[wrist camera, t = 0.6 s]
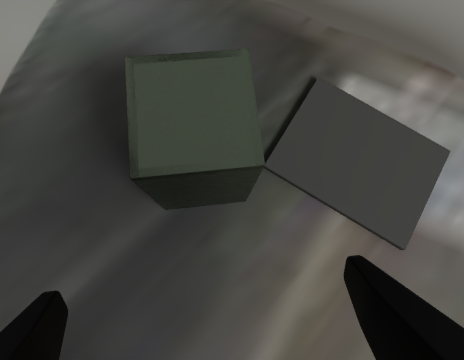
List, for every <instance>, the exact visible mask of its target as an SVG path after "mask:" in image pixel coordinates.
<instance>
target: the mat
mask: <svg viewBox="0 0 464 360" xmlns="http://www.w3.org/2000/svg"><path fill="white" fill-rule="evenodd" d="M449 153H450V150H448V149H446V148H444V147H442V146H441V145H439V144H437V143H435V142H433V141H432V140H430V139H428V138H426V137H425V136H423V135H421V134H419V133H417V132H416V131H414V130H412V129H410V128H409V127H407V126H405V125H403V124H401V123H400V122H398V121H396V120H394V119H393V118H391V117H389V116H387V115H385V114H384V113H382V112H380V111H378V110H377V109H375V108H373V107H371V106H369V105H368V104H366V103H364V102H362V101H361V100H359V99H357V98H355V97H353V96H352V95H350V94H348V93H346V92H345V91H343V90H341V89H339V88H337V87H336V86H334V85H332V84H330V83H329V82H327V81H325V80H323V79H321V78H320V77H318V79H317V80H316V82H315V83H314V85H313V87H312V88H311V90H310V92H309V93H308V95H307V97H306V98H305V100H304V101H303V103H302V105H301V106H300V108H299V110H298V111H297V113H296V114H295V116H294V118H293V119H292V121H291V123H290V124H289V126H288V127H287V129H286V131H285V132H284V134H283V136H282V137H281V139H280V141H279V142H278V144H277V145H276V147H275V149H274V150H273V152H272V154H271V155H270V157H269V158H268V160H267V162H266V163H265V166H264V168H265V169H267V170H268V171H270V172H272V173H273V174H275V175H277V176H278V177H280V178H282V179H283V180H285V181H287V182H288V183H290V184H292V185H293V186H295V187H297V188H298V189H300V190H302V191H303V192H305V193H307V194H308V195H310V196H312V197H313V198H315V199H317V200H318V201H320V202H322V203H323V204H325V205H327V206H328V207H330V208H332V209H333V210H335V211H337V212H338V213H340V214H342V215H343V216H345V217H347V218H348V219H350V220H352V221H353V222H355V223H357V224H359V225H360V226H362V227H364V228H365V229H367V230H369V231H370V232H372V233H374V234H375V235H377V236H379V237H380V238H382V239H384V240H385V241H387V242H389V243H390V244H392V245H394V246H395V247H397V248H399V249H400V250H405V249H406V246H407V244H408V242H409V240H410V238H411V236H412V233H413V231H414V229H415V227H416V225H417V223H418V220H419V218H420V216H421V214H422V212H423V210H424V207H425V205H426V203H427V201H428V199H429V197H430V194H431V192H432V190H433V188H434V186H435V184H436V181H437V179H438V177H439V175H440V173H441V171H442V168H443V166H444V164H445V162H446V160H447V158H448V155H449Z"/></svg>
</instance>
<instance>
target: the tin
mask: <svg viewBox="0 0 464 360" xmlns="http://www.w3.org/2000/svg"><path fill="white" fill-rule="evenodd" d="M125 72H126V95H127V119H128V142H129V165H130V179H131V180H133V181H134V182H135V183H136V184H137V185H138V186H139V187H141V188H142V189H143V190H144V191H145V192H146V193H147V194H148V195H150V196H151V197H152V198H153V199H154V200H155V201H156V202H158V203H159V204H160V205H161V206H162V207H163V208H164V209H165V210H168V209H178V208H187V207H197V206H206V205H216V204H225V203H235V202H244V201H246V200H247V198H248V196H249V194H250V192H251V190H252V188H253V187H254V185H255V183H256V181H257V179H258V177H259V175H260V174H261V172H262V170H263V168H264V166H265V161H264V154H263V147H262V140H261V133H260V126H259V119H258V112H257V105H256V98H255V91H254V84H253V77H252V70H251V63H250V56H249V49H236V50H221V51H207V52H193V53H179V54H165V55H151V56H137V57H125Z"/></svg>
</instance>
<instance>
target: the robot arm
mask: <svg viewBox="0 0 464 360" xmlns="http://www.w3.org/2000/svg"><path fill="white" fill-rule="evenodd" d="M344 281H345V284H346V287H347V290H348V293H349V295H350V298H351V301H352V304H353V307H354V310H355V313H356V316H357V318H358V321H359V324H360V326H361V329H362V331H363V333H364V335H365V337H366V340H367V342H368V344H369V346H370V348H371V350H372V352H373V354H374V356H375V359H376V360H464V328H463V327H462V326H460V325H459V324H457V323H456V322H455V321H453V320H452V319H450V318H449V317H447V316H446V315H445V314H443V313H442V312H440V311H439V310H438V309H436V308H435V307H433V306H432V305H430V304H429V303H428V302H426V301H425V300H423V299H422V298H421V297H419V296H418V295H416V294H415V293H413V292H412V291H411V290H409V289H408V288H406V287H405V286H404V285H402V284H401V283H399V282H398V281H397V280H395V279H394V278H392V277H391V276H389V275H388V274H387V273H385V272H384V271H382V270H381V269H380V268H378V267H377V266H375V265H374V264H372V263H371V262H370V261H368V260H367V259H365V258H364V257H362V256H360V255H355V256H349V257H347V259H346V264H345V270H344ZM67 317H68V308H67V306H66V304H65V302H64V300H63V298H62V296H61V294H60V292H59V291H49V292H44V293H42V294H41V295H40V296H39V297H38V298H37V299H35V300H34V301H33V302H32V303H31V304H30V305H29V306H28V307H27V308H26V309H25V310H24V311H22V312H21V313H20V314H19V315H18V316H17V317H16V318H15V319H14V320H13V321H12V322H11V323H10V324H8V325H7V326H6V327H5V328H4V329H3V330H2V331H1V332H0V360H59V357H60V352H61V347H62V342H63V337H64V332H65V327H66V322H67Z"/></svg>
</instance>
